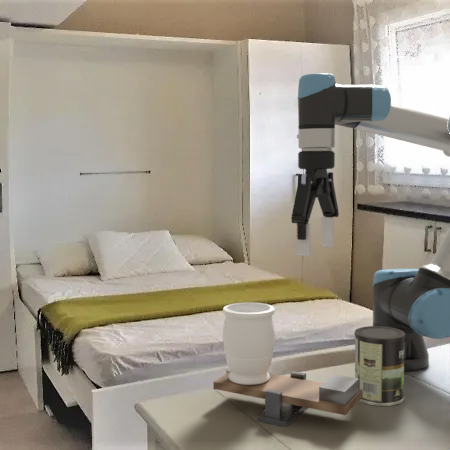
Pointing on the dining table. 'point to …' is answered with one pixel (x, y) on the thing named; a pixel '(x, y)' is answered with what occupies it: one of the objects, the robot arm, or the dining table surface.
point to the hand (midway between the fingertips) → (316, 251)
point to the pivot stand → (280, 407)
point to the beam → (303, 391)
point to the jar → (249, 341)
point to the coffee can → (380, 364)
